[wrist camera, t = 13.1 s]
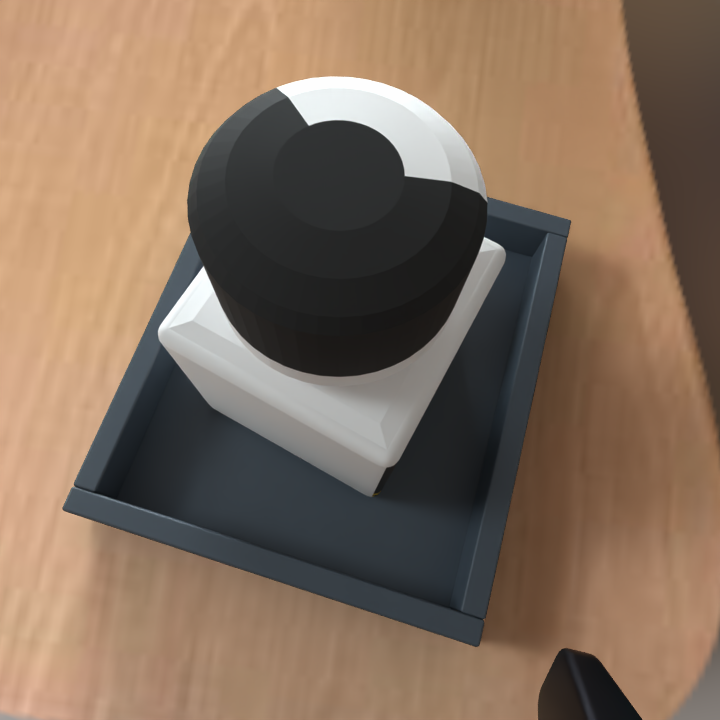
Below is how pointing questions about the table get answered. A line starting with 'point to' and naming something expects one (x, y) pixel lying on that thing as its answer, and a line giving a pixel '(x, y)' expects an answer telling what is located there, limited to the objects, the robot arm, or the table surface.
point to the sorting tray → (324, 492)
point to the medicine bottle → (332, 270)
